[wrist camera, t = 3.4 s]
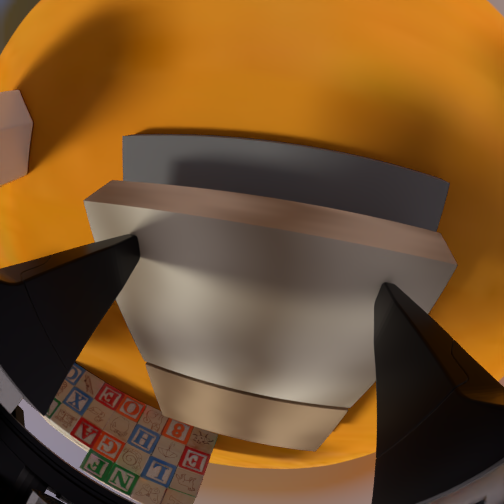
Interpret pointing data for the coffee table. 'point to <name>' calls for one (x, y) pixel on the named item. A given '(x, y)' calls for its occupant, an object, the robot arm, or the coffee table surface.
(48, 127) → the coffee table surface
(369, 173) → the underlay mat
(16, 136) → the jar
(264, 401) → the oak board
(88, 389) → the stack of blocks
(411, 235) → the ash plank
